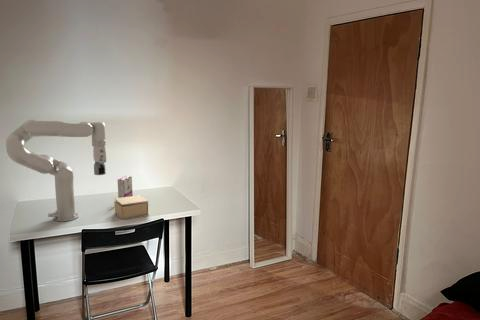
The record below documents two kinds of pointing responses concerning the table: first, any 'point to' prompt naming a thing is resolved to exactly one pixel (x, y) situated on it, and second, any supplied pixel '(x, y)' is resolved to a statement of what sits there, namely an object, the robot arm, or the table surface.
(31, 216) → the table surface
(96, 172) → the grey rounded blob
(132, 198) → the box lid
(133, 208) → the cardboard box
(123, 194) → the candy bar box
